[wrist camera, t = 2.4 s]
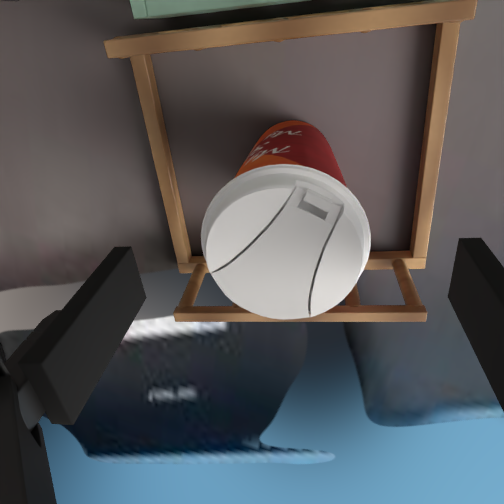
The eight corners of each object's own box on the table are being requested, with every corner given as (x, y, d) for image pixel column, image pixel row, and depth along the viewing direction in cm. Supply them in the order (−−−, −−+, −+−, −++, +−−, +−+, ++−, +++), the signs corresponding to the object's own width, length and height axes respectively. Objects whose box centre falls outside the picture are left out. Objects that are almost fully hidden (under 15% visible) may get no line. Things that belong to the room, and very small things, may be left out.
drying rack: (183, 265, 35) (155, 323, 28) (131, 34, 26) (73, 41, 19) (421, 260, 32) (450, 323, 25) (457, -3, 23) (518, -11, 16)
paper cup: (267, 83, 26) (235, 140, 14) (367, 134, 27) (414, 228, 15) (223, 182, 30) (170, 291, 18) (312, 223, 31) (315, 353, 19)
